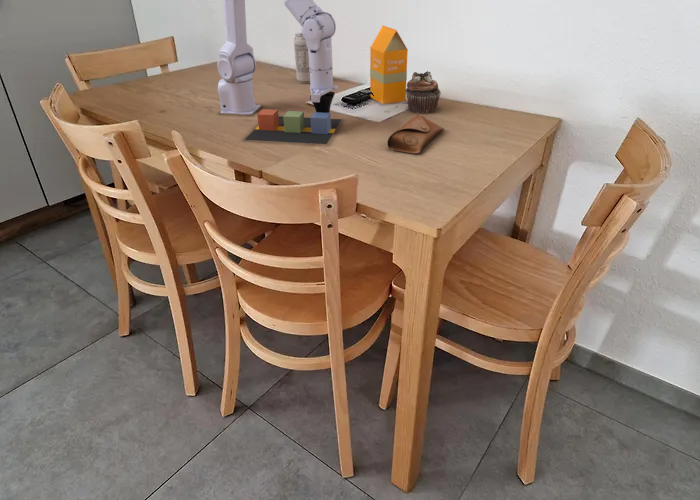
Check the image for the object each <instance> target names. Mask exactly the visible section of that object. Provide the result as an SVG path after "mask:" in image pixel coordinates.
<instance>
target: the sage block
mask: <svg viewBox="0 0 700 500" xmlns="http://www.w3.org/2000/svg"><path fill="white" fill-rule="evenodd" d="M282 117H283V119H284V129H285V132H291V133H301V132H302V130H303V129H304V128H305V124H304V118H305V113H304V111H299V110H298V111H297V110H296V111H295V110H287V112H286V113H284V115H283V116H282Z"/></svg>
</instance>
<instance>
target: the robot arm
mask: <svg viewBox="0 0 700 500" xmlns="http://www.w3.org/2000/svg"><path fill="white" fill-rule="evenodd" d="M283 1H284V3H283V4H284V6H285V7H286V8H287V10H288V11H289V13H290V14H291V15H292V16H293V17H294V19H295V20H296V21H297V22H298V24H299V25H300V26H301V27H302V28H300V30H301V33H302V34H303V36H304V38H305V40H306V43H307V47H308V53H309V70H310V83H309V84H310V85H309V91H310V95H309V100H310V102H311V104H312V105H313V106H314V109H315V112H322V113H330V114H331V106H332V102H333V99H334V97H335V91H337V90H338V89H339V85H338V84H336V85H335V84H334V71H333V70H334V69H333V68H334V67H333V45H332V44H333V43H332V37H333V36H334V35H335V33H336V30H337V25H336V21H335V19H334V17H333V15H332V14H331V13H330V12H327V11H324V10H323V9H322V8H321V7H320V6H319V5H317V4H316V2H315V1H314V0H283ZM222 5H223V6H222V7H223V8H222V9H223V20H224V21H223V22H224V34H225V43H224V44H223V45H222V46H221V48H220V49H219V50H218V59H217V63H216V66H217V67H216V69H217V71H218V74H219V76H220V77H221V79H219V81H218V82H217V93H218V99H219V105H220V114H223V115H224V114H225V115H246V116H247V115H248V116H251V115H253V114H254V113H255V112H256V111H257V110H258V109H260V108H261V107H262V105H261V104H256V100H255V99H256V98H255V91H254V84H253V83H254V82H253V78H254V73H255V72H256V70H257V61H256V58H255V55H254V48H253V47H252V46H251V45H250V44H249V43H248V39H247V38H248V37H247V19H246V18H247V15H246V0H222Z"/></svg>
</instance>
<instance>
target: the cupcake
mask: <svg viewBox="0 0 700 500" xmlns="http://www.w3.org/2000/svg"><path fill="white" fill-rule="evenodd" d="M432 75H433V74H432V73H431V71H428V70H427V71H425V72H424V73H418V72H417V71H414V72H413V73H412V75H411V79H410V80H408V81H407V82H406V101H407V107H408V110H409V111H410V112H413V113H416V114H418V113H420V114H431V113H434V112H436V111H437V108H438V105H439V100H440V97H441V94H442V91H441V90H440V89H439V83H438V82H437V81H436V80H435V79H433V77H432Z"/></svg>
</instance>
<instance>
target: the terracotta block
mask: <svg viewBox="0 0 700 500" xmlns="http://www.w3.org/2000/svg"><path fill="white" fill-rule="evenodd" d="M256 115H257V123H258V125H257V126H259V130H267V131H275V130H276V129H277V128H278V126H279V117H280V116H279V109H267V108H263V109H261V110H260V111H259V112H258V113H257V114H256Z"/></svg>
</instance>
